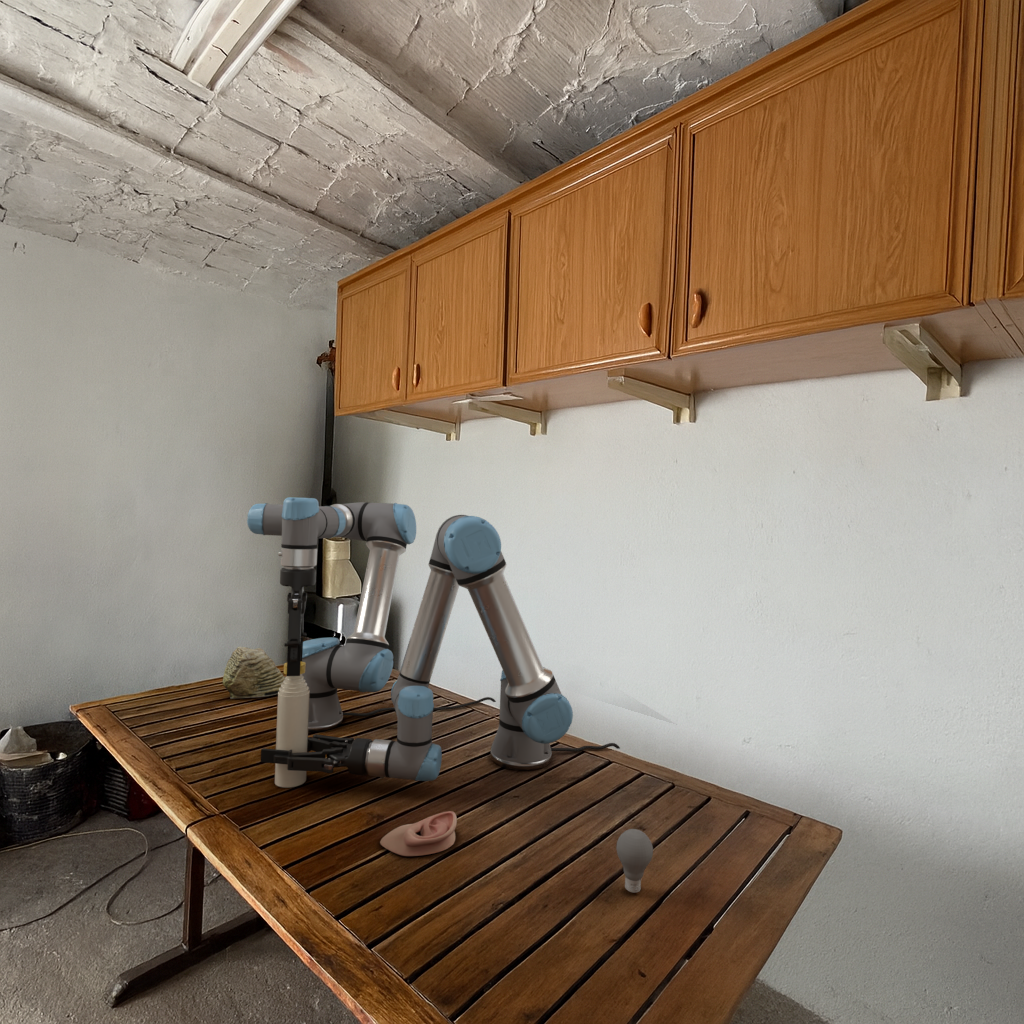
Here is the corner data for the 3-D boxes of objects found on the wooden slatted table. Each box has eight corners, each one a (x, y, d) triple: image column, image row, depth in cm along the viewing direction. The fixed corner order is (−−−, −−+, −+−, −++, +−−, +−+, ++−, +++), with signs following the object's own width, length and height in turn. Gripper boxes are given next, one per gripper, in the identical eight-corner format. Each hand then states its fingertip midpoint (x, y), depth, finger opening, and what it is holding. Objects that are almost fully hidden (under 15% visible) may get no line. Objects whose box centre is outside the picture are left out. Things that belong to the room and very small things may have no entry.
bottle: (302, 787, 138) (307, 670, 137) (271, 787, 137) (275, 670, 136) (309, 774, 144) (313, 662, 144) (278, 774, 143) (282, 662, 143)
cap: (288, 668, 142) (288, 660, 142) (308, 670, 142) (308, 661, 142) (280, 674, 138) (280, 665, 138) (300, 675, 138) (301, 667, 138)
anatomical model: (373, 829, 114) (398, 800, 125) (372, 851, 114) (397, 820, 125) (444, 840, 111) (462, 809, 122) (443, 863, 111) (461, 830, 122)
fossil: (218, 695, 195) (220, 647, 195) (278, 685, 208) (279, 640, 207) (228, 703, 189) (230, 653, 188) (289, 692, 201) (290, 645, 201)
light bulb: (610, 879, 108) (613, 822, 108) (644, 879, 109) (647, 822, 109) (619, 902, 102) (622, 840, 102) (655, 901, 103) (658, 840, 103)
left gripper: (284, 562, 148) (280, 659, 149) (276, 572, 129) (271, 684, 130) (317, 562, 150) (314, 659, 151) (314, 573, 131) (310, 683, 132)
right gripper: (353, 794, 129) (246, 784, 131) (383, 756, 148) (289, 748, 151) (355, 758, 129) (247, 748, 131) (384, 724, 148) (290, 717, 151)
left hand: (294, 670), depth 140 cm, fingers open, 7 cm apart
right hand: (270, 748), depth 141 cm, fingers closed on bottle, 7 cm apart
